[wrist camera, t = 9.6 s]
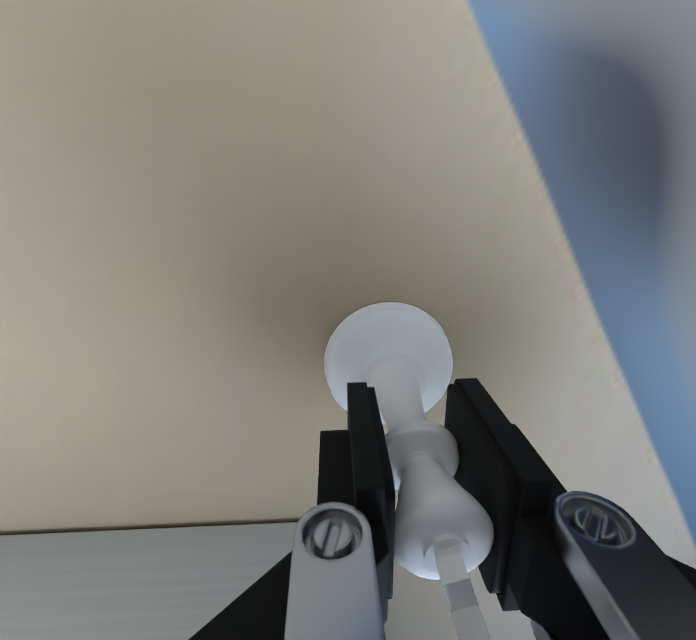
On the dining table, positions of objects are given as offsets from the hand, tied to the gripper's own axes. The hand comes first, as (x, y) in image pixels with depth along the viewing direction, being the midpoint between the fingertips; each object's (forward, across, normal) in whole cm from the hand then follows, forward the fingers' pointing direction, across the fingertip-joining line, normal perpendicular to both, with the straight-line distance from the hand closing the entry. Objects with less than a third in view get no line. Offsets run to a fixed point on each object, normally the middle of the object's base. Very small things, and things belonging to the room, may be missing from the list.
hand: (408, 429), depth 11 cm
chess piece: (+5, 0, 0) cm, 5 cm away
